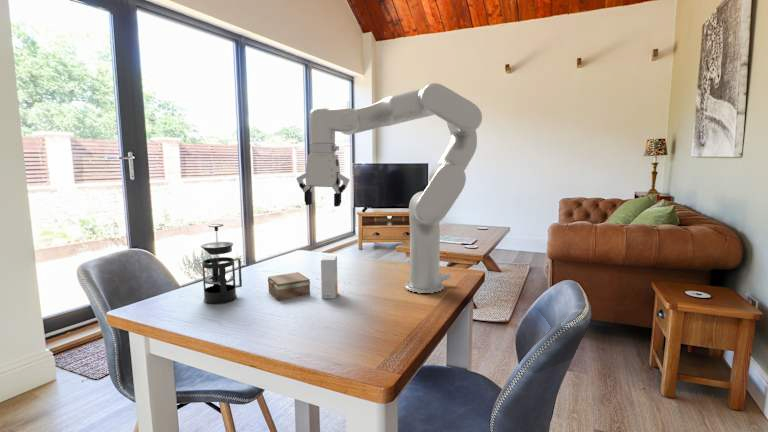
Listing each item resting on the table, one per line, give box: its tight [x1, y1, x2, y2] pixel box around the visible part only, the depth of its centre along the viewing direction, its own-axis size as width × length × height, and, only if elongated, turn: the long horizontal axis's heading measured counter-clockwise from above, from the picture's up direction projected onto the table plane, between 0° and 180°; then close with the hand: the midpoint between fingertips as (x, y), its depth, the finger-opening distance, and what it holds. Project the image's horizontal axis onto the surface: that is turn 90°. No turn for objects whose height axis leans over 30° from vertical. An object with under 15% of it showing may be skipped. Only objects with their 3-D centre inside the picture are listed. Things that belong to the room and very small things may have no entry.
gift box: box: [267, 271, 311, 301], centre depth 134 cm, size 11×10×5 cm
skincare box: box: [320, 255, 338, 299], centre depth 131 cm, size 6×4×12 cm
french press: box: [200, 223, 243, 305], centre depth 128 cm, size 12×9×23 cm
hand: (322, 205), depth 132 cm, fingers open, 9 cm apart
